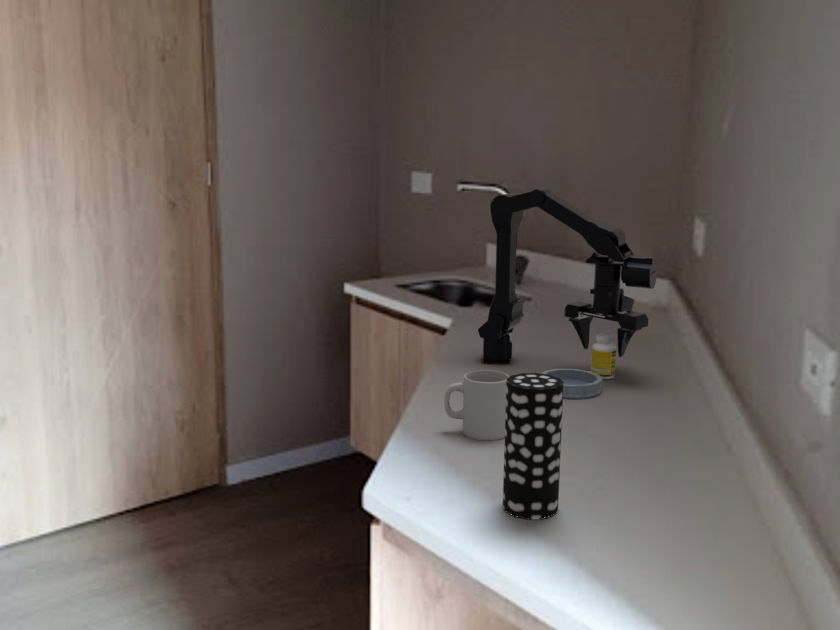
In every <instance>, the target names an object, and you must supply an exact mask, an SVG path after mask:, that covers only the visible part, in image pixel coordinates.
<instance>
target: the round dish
mask: <svg viewBox="0 0 840 630" xmlns="http://www.w3.org/2000/svg"><path fill="white" fill-rule="evenodd" d="M541 373H542V374H548V375H553V376H556V377H559V378H560V379H562V380H563V382H564V384H563V399H566V400H567V399H568V400H569V399H570V400H585V399H591V398H596V397H598V396H600V395H601V393H602V389H603V379H602V378H601V377H600V375H598V374H595V373H593V372H591V370H585V369H577V368H555V369H554V368H553V369H547V370H544V371H543V372H541Z"/></svg>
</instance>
